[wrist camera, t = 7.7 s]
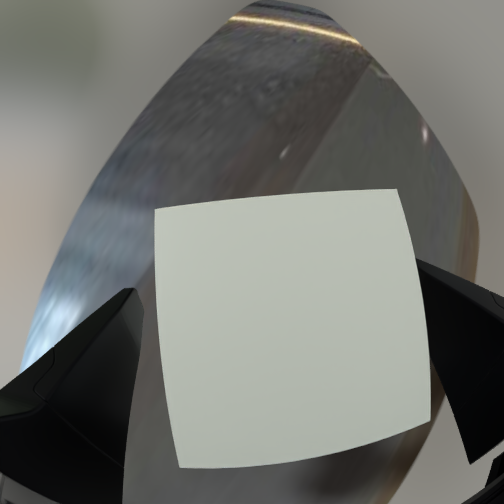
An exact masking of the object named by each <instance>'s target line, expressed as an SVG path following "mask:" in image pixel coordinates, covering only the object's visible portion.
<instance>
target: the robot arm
mask: <svg viewBox="0 0 504 504" xmlns="http://www.w3.org/2000/svg"><path fill="white" fill-rule="evenodd" d="M415 260H416V265H417V270H418V275H419V280H420V286H421V292H422V298H423V304H424V312H425V319H426V327H427V337H428V348H429V356H430V358H431V360H432V362H433V364H434V367H435V369H436V371H437V374H438V376H439V378H440V381H441V383H442V386H443V388H444V391H445V393H446V396H447V398H448V401H449V403H450V406H451V408H452V411H453V414H454V417H455V420H456V423H457V426H458V429H459V432H460V435H461V438H462V441H463V444H464V448H465V451H466V455H467V458H468V461H469V464H472V463H474V462H475V461H476V460H478V459H480V458H481V457H482V456H484V455H485V454H487V453H488V452H489V451H491V450H492V449H493V448H495V447H496V446H497V445H499V444H500V443H501V442H502V441H504V297H502V296H500V295H498V294H496V293H493V292H491V291H489V290H487V289H485V288H483V287H480V286H479V285H476V284H474V283H472V282H470V281H468V280H465V279H463V278H461V277H459V276H456V275H454V274H452V273H450V272H447V271H445V270H443V269H440V268H438V267H436V266H433V265H431V264H429V263H426V262H424V261H422V260H419V259H417V258H415ZM143 317H144V309H143V306H142V303H141V300H140V298H139V295H138V292H137V290H136V289H135V288H124V289H122V290H121V291H120V292H118V293H117V294H116V295H115V296H113V297H112V298H111V299H110V300H108V301H107V302H106V303H105V304H103V305H102V306H101V307H100V308H98V309H97V310H96V311H95V312H94V313H92V314H91V315H90V316H89V317H87V318H86V319H85V320H84V321H83V322H81V323H80V324H79V325H78V326H77V327H75V328H74V329H73V330H72V331H71V332H70V333H68V334H67V335H66V336H65V337H64V338H62V339H61V340H60V341H59V342H58V343H57V344H56V345H54V347H52V348H51V349H50V350H49V351H47V352H46V353H45V354H44V355H43V356H42V357H41V358H39V359H38V360H37V361H36V362H35V363H33V364H32V365H31V366H30V367H28V368H27V369H26V370H25V371H23V372H22V373H21V374H19V375H18V376H17V377H16V378H14V379H13V380H12V381H11V382H9V383H8V384H7V385H6V386H4V387H3V388H2V389H1V390H0V504H122V496H123V478H124V463H125V452H126V442H127V433H128V425H129V417H130V410H131V403H132V397H133V390H134V384H135V379H136V373H137V367H138V362H139V356H140V349H141V338H142V327H143ZM462 504H504V452H502V453H501V454H500V455H499V456H497V457H496V458H495V459H494V460H493V463H492V466H491V470H490V473H489V476H488V479H487V482H486V485H485V488H484V489H482V490H481V491H479V492H478V493H477V494H475V495H474V496H472V497H471V498H469V499H468V500H466V501H465V502H463V503H462Z"/></svg>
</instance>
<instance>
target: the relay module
mask: <svg viewBox="0 0 504 504" xmlns="http://www.w3.org/2000/svg"><path fill="white" fill-rule="evenodd" d="M155 279H156V300H157V316H158V329H159V340H160V350H161V360H162V368H163V376H164V384H165V391H166V398H167V404H168V411H169V417H170V422H171V428H172V433H173V438H174V443H175V448H176V453H177V458H178V462H179V467H180V468H233V467H249V466H260V465H269V464H277V463H285V462H291V461H298V460H303V459H309V458H314V457H319V456H324V455H328V454H332V453H337V452H341V451H345V450H348V449H352V448H356V447H359V446H363V445H366V444H369V443H372V442H376V441H379V440H382V439H385V438H388V437H390V436H393V435H396V434H399V433H401V432H404V431H406V430H409V429H411V428H414V427H416V426H419V425H421V424H423V423H426V422H428V421H430V410H431V388H430V362H429V348H428V337H427V327H426V319H425V312H424V304H423V298H422V292H421V286H420V280H419V275H418V270H417V265H416V260H415V256H414V251H413V247H412V243H411V238H410V234H409V231H408V227H407V223H406V219H405V216H404V212H403V209H402V205H401V202H400V199H399V196H398V192H397V189H381V190H353V191H332V192H315V193H300V194H287V195H274V196H263V197H252V198H242V199H232V200H223V201H214V202H205V203H197V204H189V205H181V206H174V207H167V208H160V209H155Z"/></svg>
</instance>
